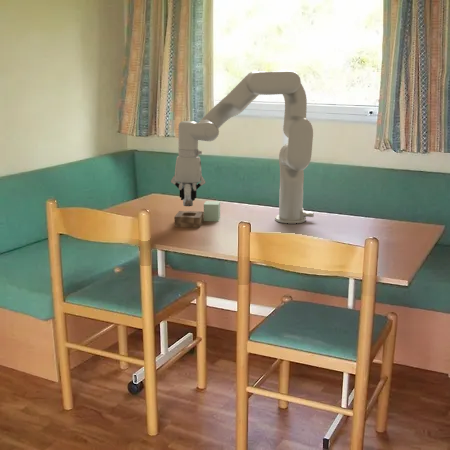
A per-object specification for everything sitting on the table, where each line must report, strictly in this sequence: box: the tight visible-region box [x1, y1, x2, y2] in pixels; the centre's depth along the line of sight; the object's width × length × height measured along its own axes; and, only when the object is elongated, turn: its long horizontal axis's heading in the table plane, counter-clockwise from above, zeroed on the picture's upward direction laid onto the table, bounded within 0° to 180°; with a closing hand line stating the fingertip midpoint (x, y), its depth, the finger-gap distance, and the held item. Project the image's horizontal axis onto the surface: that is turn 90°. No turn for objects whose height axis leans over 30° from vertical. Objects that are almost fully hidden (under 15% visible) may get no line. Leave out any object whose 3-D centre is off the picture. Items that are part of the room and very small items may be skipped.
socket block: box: [174, 210, 205, 229], centre depth 253 cm, size 10×10×4 cm
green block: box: [203, 200, 221, 222], centre depth 260 cm, size 6×6×7 cm
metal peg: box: [182, 183, 194, 207], centre depth 250 cm, size 4×4×9 cm
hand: (188, 199), depth 251 cm, fingers closed on metal peg, 3 cm apart
